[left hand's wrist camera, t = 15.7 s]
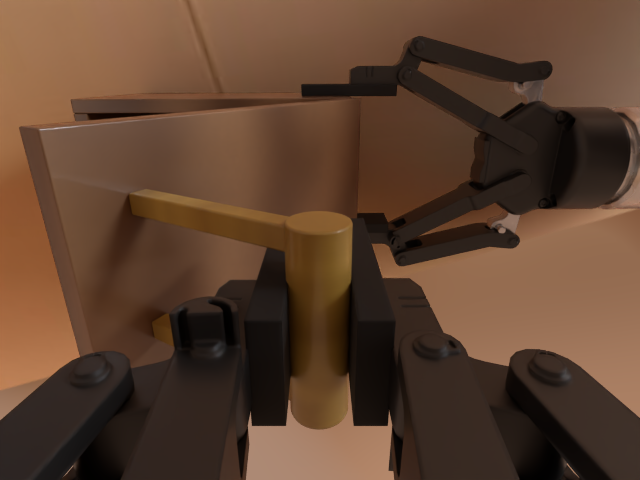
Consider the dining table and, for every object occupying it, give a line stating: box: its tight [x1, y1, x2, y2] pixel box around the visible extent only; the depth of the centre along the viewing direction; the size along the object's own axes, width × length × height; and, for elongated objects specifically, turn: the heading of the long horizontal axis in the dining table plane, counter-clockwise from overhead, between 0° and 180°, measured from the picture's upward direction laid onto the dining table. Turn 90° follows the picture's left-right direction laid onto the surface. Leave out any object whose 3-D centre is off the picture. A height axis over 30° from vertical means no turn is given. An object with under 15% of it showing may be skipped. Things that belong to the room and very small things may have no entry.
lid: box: [19, 98, 361, 429], centre depth 17 cm, size 18×9×8 cm
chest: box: [71, 93, 351, 122], centre depth 32 cm, size 17×9×11 cm, turn 90°
